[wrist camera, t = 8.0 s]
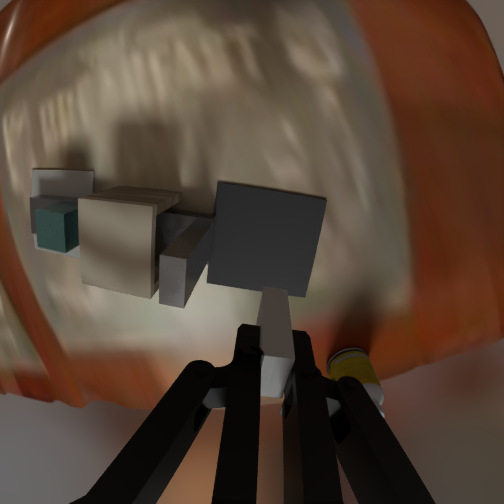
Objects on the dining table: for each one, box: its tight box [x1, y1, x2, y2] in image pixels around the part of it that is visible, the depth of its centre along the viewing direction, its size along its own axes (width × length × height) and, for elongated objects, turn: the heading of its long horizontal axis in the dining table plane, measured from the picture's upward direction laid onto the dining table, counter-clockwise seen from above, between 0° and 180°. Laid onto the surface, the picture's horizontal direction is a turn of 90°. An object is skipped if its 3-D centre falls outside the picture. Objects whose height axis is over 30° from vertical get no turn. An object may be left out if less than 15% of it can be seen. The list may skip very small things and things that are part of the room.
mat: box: [32, 170, 94, 259], centre depth 32 cm, size 12×12×1 cm
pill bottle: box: [327, 348, 385, 418], centre depth 32 cm, size 6×6×12 cm
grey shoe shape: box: [207, 183, 327, 297], centre depth 32 cm, size 12×12×1 cm
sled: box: [30, 195, 216, 308], centre depth 26 cm, size 5×26×12 cm, turn 82°
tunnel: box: [78, 186, 182, 299], centre depth 28 cm, size 9×8×9 cm
